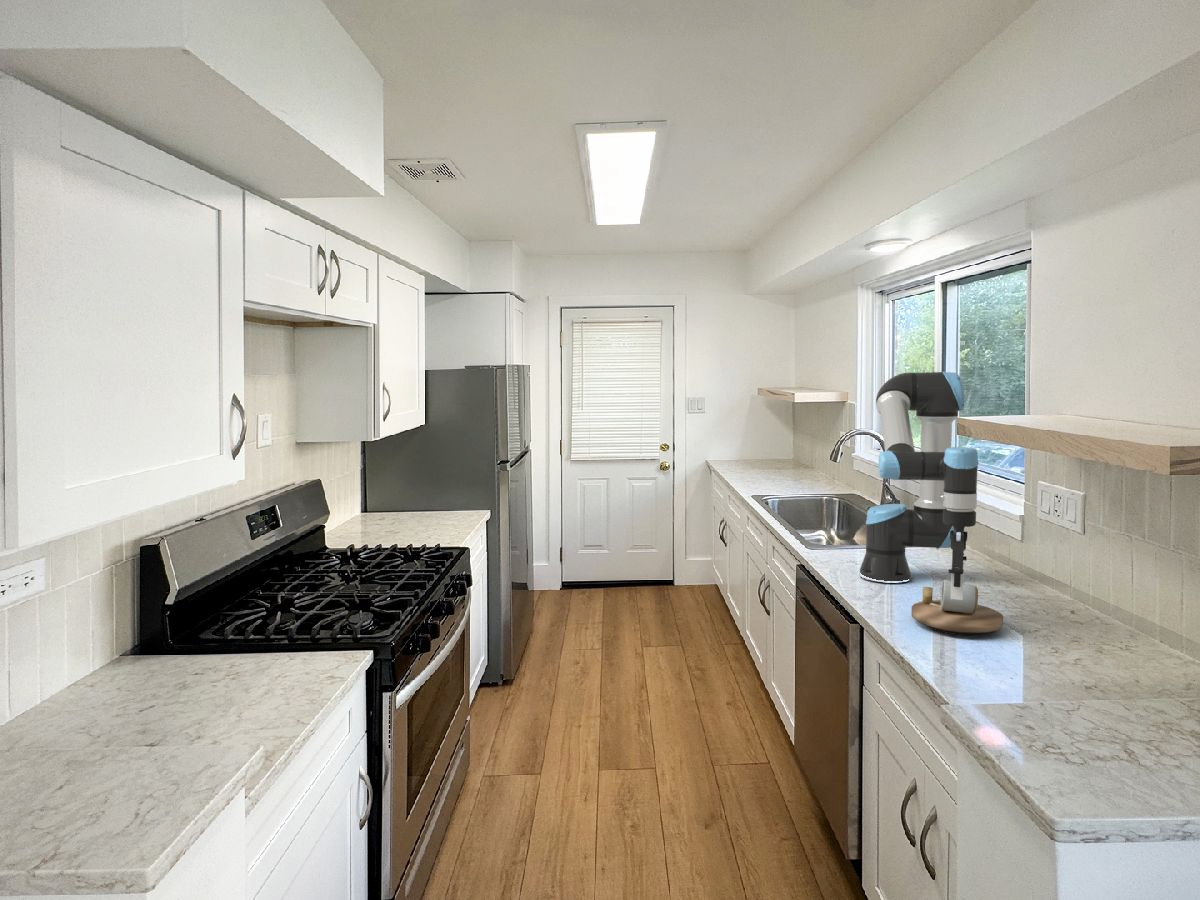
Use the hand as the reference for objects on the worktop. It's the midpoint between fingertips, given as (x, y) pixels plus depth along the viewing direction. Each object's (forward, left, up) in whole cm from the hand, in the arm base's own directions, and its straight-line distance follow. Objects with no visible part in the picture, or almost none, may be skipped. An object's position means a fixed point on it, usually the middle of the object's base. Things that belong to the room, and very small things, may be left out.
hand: (956, 592), depth 188 cm
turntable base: (0, 0, -9) cm, 9 cm away
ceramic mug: (-1, 0, -5) cm, 5 cm away
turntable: (0, 0, -7) cm, 7 cm away
